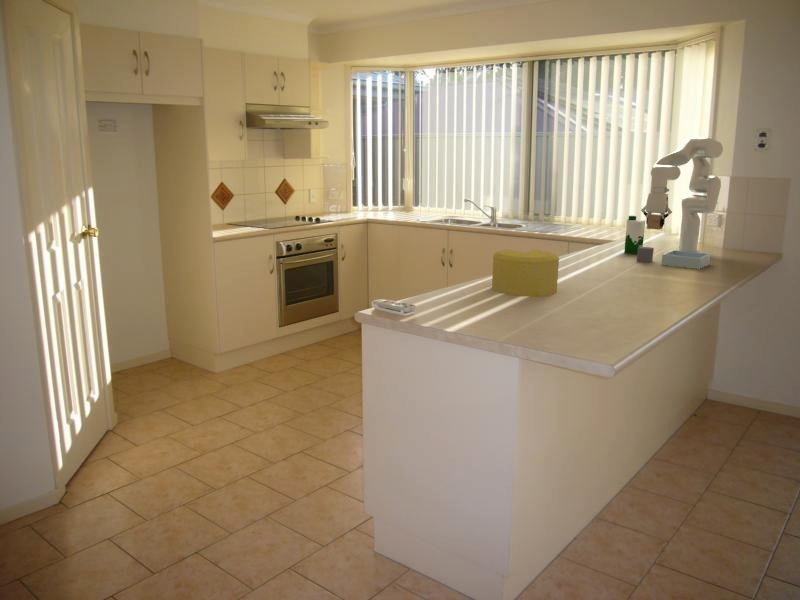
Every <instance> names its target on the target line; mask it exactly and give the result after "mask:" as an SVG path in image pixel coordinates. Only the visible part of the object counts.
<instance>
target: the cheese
mask: <svg viewBox="0 0 800 600" xmlns="http://www.w3.org/2000/svg"><path fill="white" fill-rule="evenodd" d="M492 257H493V258H492V259H493V260H492V274H491V275H492V278H491V281H492V282H491V289H492V290H493V291H495V292H497V293H499V294H504V295H508V296H517V297H548V296H552V295H555V294H557V292H558V280H559V279H558V278H559V277H558V276H559V266H560V265H559V264H560V263H559V262H560V257H559V256H558V255H557V254H556V253H554V252H552V251H548V250H541V249H540V250H539V249H532V248H531V249H530V250H529V251H527V252H522V251H518V250H514V249H502V250H500V251H496V252H495V253H493V256H492Z"/></svg>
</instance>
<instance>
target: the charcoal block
mask: <svg viewBox="0 0 800 600" xmlns="http://www.w3.org/2000/svg"><path fill="white" fill-rule="evenodd" d="M653 260H654V247H649V246H643V247H639V248H638V252H637V254H636V262H639V263H646V262H647V264H648V263H651V261H652V262H653Z"/></svg>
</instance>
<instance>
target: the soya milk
mask: <svg viewBox="0 0 800 600" xmlns="http://www.w3.org/2000/svg"><path fill="white" fill-rule="evenodd" d="M627 218H628V219H626V225H625V226H626V231H625V239H624V240H625V241H624V252H623V253H624V254H632V255H637V252H638V248H639V247H644V237H645V228H646V227H645V226H646V219H645V220H644V219H637V216H636V215H628V217H627Z"/></svg>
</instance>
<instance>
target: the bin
mask: <svg viewBox="0 0 800 600" xmlns="http://www.w3.org/2000/svg"><path fill="white" fill-rule="evenodd" d="M710 263H711V253H705V252H704V253H703V252H702V253H701V252H700V253H696V252H686V251H677V250H676V249H674V250H671V251H667V252H665V253H662V256H661V266H666V265H668V266H667V267H675V266H679V267H678V268H683V267H687V268H686V269H691V268H697V269H696V270H701V269H703V268H705V267H707V266H710ZM704 266H705V267H704ZM702 267H703V268H702ZM700 268H701V269H700Z"/></svg>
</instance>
